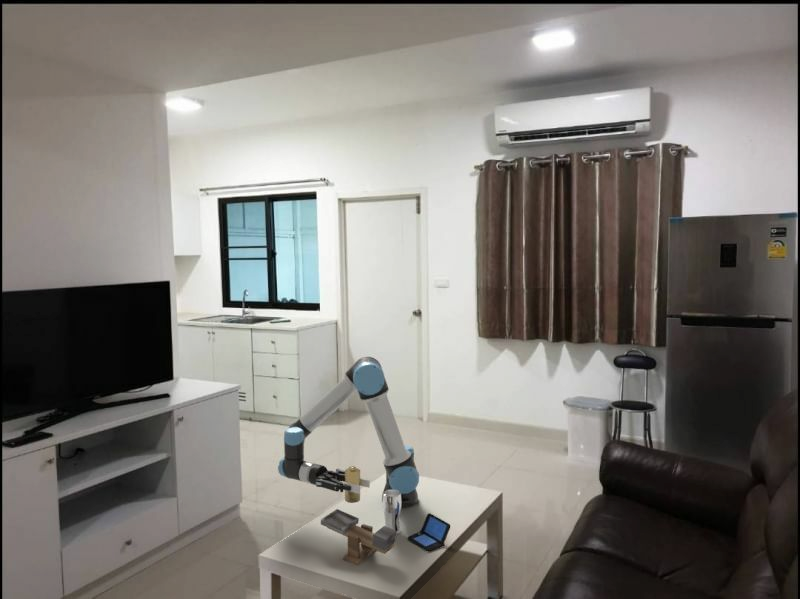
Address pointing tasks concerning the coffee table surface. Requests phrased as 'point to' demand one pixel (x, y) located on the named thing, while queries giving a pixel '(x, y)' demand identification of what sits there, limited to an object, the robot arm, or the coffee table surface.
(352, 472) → the brass weight
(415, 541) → the handheld game console
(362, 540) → the balance beam
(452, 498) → the coffee table surface
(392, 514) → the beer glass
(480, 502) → the coffee table surface
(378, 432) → the robot arm
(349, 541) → the beam stand
